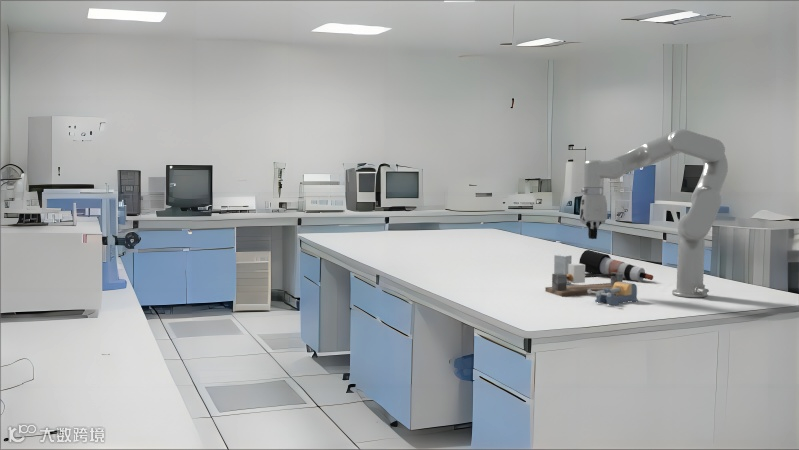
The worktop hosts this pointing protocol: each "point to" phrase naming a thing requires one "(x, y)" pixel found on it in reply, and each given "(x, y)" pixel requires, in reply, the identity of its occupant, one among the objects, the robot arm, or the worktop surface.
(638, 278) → the cable
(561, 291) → the cord rack
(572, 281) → the sleeve
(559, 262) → the skincare box
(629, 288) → the vise
